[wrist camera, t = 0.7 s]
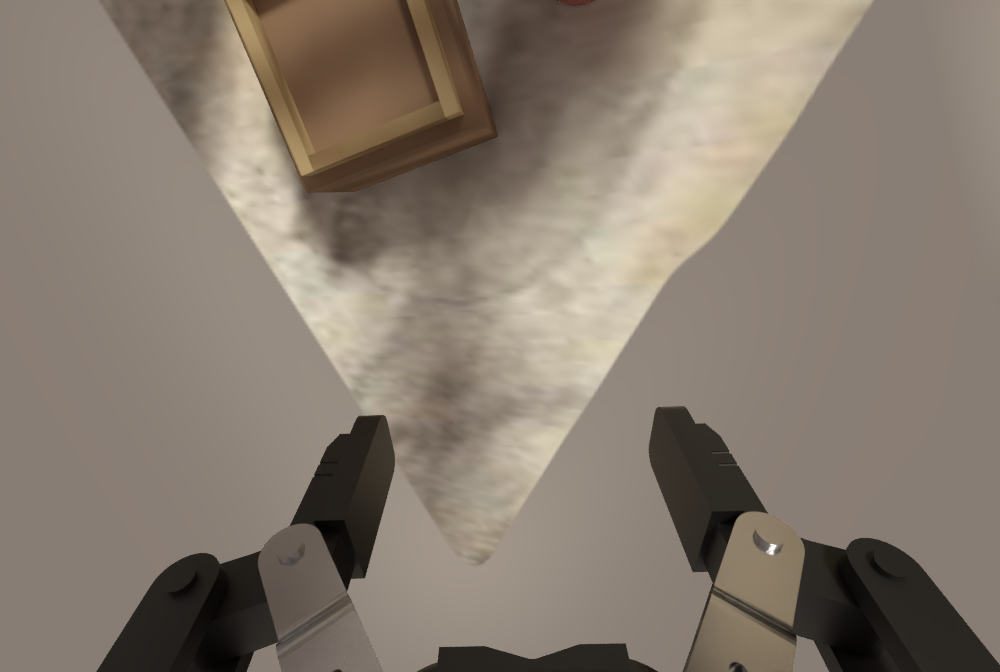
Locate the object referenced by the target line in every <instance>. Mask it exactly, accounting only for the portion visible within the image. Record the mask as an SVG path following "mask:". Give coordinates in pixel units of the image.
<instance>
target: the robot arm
mask: <svg viewBox="0 0 1000 672" xmlns="http://www.w3.org/2000/svg"><path fill="white" fill-rule="evenodd" d="M649 457H650V463H651V466H652V469H653V471H654V474H655V476H656V479H657V482H658V484H659V487H660V489H661V492H662V494H663V497H664V499H665V502H666V504H667V507H668V510H669V512H670V515H671V517H672V520H673V523H674V525H675V528H676V530H677V533H678V535H679V538H680V540H681V543H682V546H683V548H684V551H685V553H686V556H687V558H688V561H689V563H690V566H691V569H692V571H693V572H708V573H709V575H710V577H711V580H712V582H713V584H712V587H711V590H710V592H709V595H708V598H707V601H706V604H705V607H704V611H703V613H702V616H701V619H700V622H699V625H698V628H697V631H696V634H695V637H694V640H693V643H692V646H691V649H690V652H689V655H688V658H687V660H686V663H685V666H684V669H683V672H792V671H793V664H794V658H795V652H796V642H797V637H796V635H798V636H801V637H804V638H807V639H811V640H814V642H815V644H816V646H817V648H818V650H819V652H820V654H821V656H822V658H823V660H824V662H825V664H826V666H827V668H828V670H829V672H1000V665H999V663H998V662H997V661H996V660H995V658H994V657H993V656H992V655H991V654H990V652H989V651H988V650H987V649H986V647H985V646H984V645H983V643H982V642H981V641H980V640H979V639H978V637H977V636H976V635H975V633H974V632H973V631H972V630H971V629H970V627H969V626H968V625H967V623H966V622H965V621H964V620H963V618H962V617H961V616H960V615H959V614H958V612H957V611H956V610H955V609H954V607H953V606H952V605H951V603H950V602H949V601H948V600H947V598H946V597H945V596H944V595H943V594H942V592H941V591H940V590H939V588H938V587H937V586H936V585H935V583H934V582H933V581H932V580H931V578H929V576H928V575H927V573H926V572H925V571H924V570H923V569H922V567H921V566H920V565H919V564H918V563H917V562H916V561H915V560H914V559H912V558H911V557H910V556H909V555H907V554H906V553H905V552H903V551H901V550H900V549H898V548H896V547H894V546H893V545H890V544H888V543H886V542H883V541H880V540H876V539H871V538H859V539H855V540H854V541H852V542H851V543H850V544H849V545H848V547H847V549H846V550H844V549H840V548H836V547H832V546H828V545H824V544H820V543H816V542H812V541H808V540H805V539H803V538H800V537H799V535H798V534H797V533H796V532H795V530H793V529H792V528H791V527H790V526H789V525H788V524H787V523H785V522H784V521H782V520H781V519H779V518H776V517H775V516H772V515H770V514H768V513H767V511H766V510H765V508H764V506H763V505H762V503H761V501H760V500H759V498H758V497H757V495H756V493H755V492H754V490H753V489H752V487H751V485H750V484H749V482H748V480H747V479H746V477H745V476H744V474H743V472H742V471H741V469H740V468H739V466H737V463H736V461H735V460H734V458H733V456H732V454H729V450H728V448H727V446H726V445H725V443H724V442H723V440H722V438H721V437H720V436H719V435H718V434H717V433H716V432H715V431H713V430H712V429H711V428H710V427H709V426H707V425H706V424H705V423H704V424H695V422H694V420H693V419H692V417H691V415H690V413H689V412H688V410H687V409H686V408H685V407H684V406H679V407H678V406H676V407H658V408H657V409H656V411H655V415H654V421H653V427H652V432H651V437H650V443H649ZM394 467H395V454H394V449H393V444H392V440H391V436H390V432H389V427H388V423H387V419H386V417H385V416H384V415H372V416H358V417H357V419H356V421H355V423H354V426H353V428H352V430H351V433H350V434H340V435H339V436H338V437H337V438H336V439H335V440H334V441H333V442H332V443H331V444H330V445H329V446H328V447H327V449H326V451H325V453H324V455H323V457H322V459H321V462H320V465H319V466H318V468H317V470H316V472H315V474H314V475H315V477H313V478H312V481H311V483H310V485H309V487H308V489H307V491H306V493H305V495H304V497H303V499H302V502H301V504H300V506H299V508H298V510H297V512H296V514H295V516H294V518H293V520H292V523H291V524H290V526H289V527H287V528H285V529H283V530H281V531H279V532H278V533H276V534H275V535H274V536H273V537H272V538H270V539H269V540H268V542H267V543H266V544H265V545H264V547H263V548H262V550H261V551H259V552H256V553H254V554H251V555H248V556H244V557H241V558H238V559H235V560H232V561H228V562H225V563H222V564H220V563H219V562H218V560H217V558H215V557H214V556H213V555H211V554H207V553H199V554H194V555H190V556H187V557H185V558H183V559H181V560H179V561H177V562H175V563H174V564H172V565H171V566H169V567H168V568H167V569H165V570H164V571H163V572H162V573H161V574H160V575H159V576H158V577H157V579H156V580H155V581H154V582H153V584H152V585H151V586H150V588H149V590H148V591H147V593H146V595H145V596H144V597H143V599H142V601H141V602H140V604H139V605H138V607H137V609H136V610H135V612H134V613H133V615H132V617H131V618H130V620H129V621H128V623H127V624H126V626H125V627H124V629H123V631H122V632H121V634H120V635H119V637H118V638H117V640H116V642H115V643H114V645H113V646H112V648H111V650H110V651H109V653H108V654H107V656H106V657H105V659H104V661H103V662H102V664H101V665H100V667H99V668H98V670H97V672H247V669H248V666H249V664H250V661H251V659H252V656H253V653H254V651H256V650H258V649H261V648H264V647H267V646H269V645H272V644H274V643H277V642H278V644H277V645H276V651H277V655H278V660H279V664H280V667H281V671H282V672H383V670H382V668H381V666H380V664H379V661H378V659H377V657H376V654H375V652H374V650H373V648H372V645H371V643H370V641H369V639H368V636H367V634H366V632H365V630H364V628H363V625H362V623H361V621H360V619H359V616H358V614H357V612H356V610H355V607H354V605H353V603H352V601H351V599H350V597H349V595H348V593H347V590H348V587H349V583H350V580H351V579H355V578H365V576H366V572H367V568H368V564H369V561H370V557H371V554H372V550H373V546H374V543H375V539H376V535H377V532H378V528H379V524H380V520H381V517H382V513H383V509H384V506H385V502H386V499H387V495H388V491H389V488H390V484H391V480H392V477H393V473H394ZM417 672H658V671H656V670H654V669H652V668H651V667H649V666H647V665H644V664H642V663H640V662H637V661H635V660H631V659H629V657H628V652H627V648H626V644H580V645H576V646H573V647H570V648H567V649H564V650H561V651H558V652H555V653H552V654H549V655H546V656H543V657H540V658H537V659H527V658H524V657H520V656H517V655H513V654H510V653H506V652H503V651H499V650H496V649H492V648H489V647H485V646H475V647H439V655H438V662H437V663H435V664H431V665H429V666H427V667H425V668H423V669H421V670H419V671H417Z"/></svg>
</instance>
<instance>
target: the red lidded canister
mask: <svg viewBox="0 0 1000 672" xmlns="http://www.w3.org/2000/svg"><path fill="white" fill-rule="evenodd" d="M558 1H560V2H562V3H565V4H568V5H582V4H587V3H589V2H592V1H594V0H558Z"/></svg>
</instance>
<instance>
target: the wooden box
mask: <svg viewBox="0 0 1000 672" xmlns="http://www.w3.org/2000/svg"><path fill="white" fill-rule="evenodd" d="M224 1H225V4H226V6H227V8H228V11H229V13H230V15H231V18H232V20H233V22H234V24H235V27H236V29H237V31H238V34H239V36H240V38H241V41H242V43H243V45H244V48H245V50H246V52H247V55H248V57H249V59H250V62H251V64H252V66H253V69H254V71H255V73H256V76H257V78H258V80H259V83H260V85H261V87H262V90H263V92H264V94H265V97H266V99H267V101H268V104H269V106H270V108H271V111H272V113H273V115H274V118H275V120H276V122H277V125H278V127H279V129H280V132H281V134H282V136H283V139H284V141H285V143H286V145H287V148H288V150H289V152H290V155H291V157H292V159H293V162H294V164H295V166H296V169H297V171H298V173H299V176H300V178H301V180H302V183H303V185H304V187H305V190H306V192H355V191H357V190H360V189H362V188H365V187H368V186H370V185H373V184H375V183H378V182H381V181H383V180H386V179H388V178H391V177H394V176H396V175H399V174H401V173H404V172H407V171H409V170H412V169H414V168H417V167H420V166H422V165H425V164H427V163H430V162H432V161H435V160H438V159H440V158H443V157H445V156H448V155H451V154H453V153H456V152H458V151H461V150H464V149H466V148H469V147H471V146H474V145H477V144H479V143H482V142H484V141H487V140H490V139H492V138H495V137H497V136H498V135H497V131H496V128H495V125H494V121H493V118H492V115H491V112H490V108H489V105H488V102H487V98H486V95H485V92H484V88H483V85H482V82H481V78H480V75H479V72H478V69H477V65H476V62H475V59H474V55H473V52H472V49H471V45H470V42H469V39H468V35H467V32H466V29H465V25H464V22H463V19H462V16H461V12H460V9H459V6H458V2H457V0H224Z"/></svg>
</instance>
